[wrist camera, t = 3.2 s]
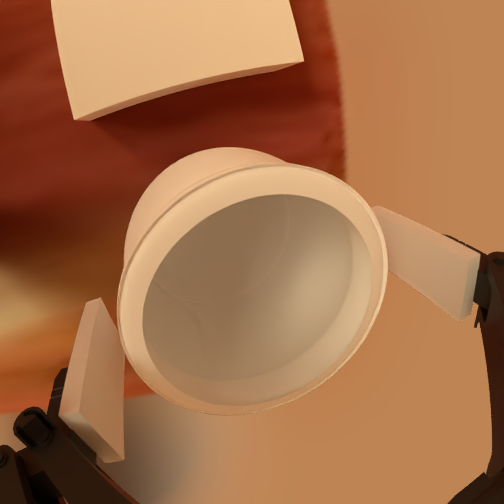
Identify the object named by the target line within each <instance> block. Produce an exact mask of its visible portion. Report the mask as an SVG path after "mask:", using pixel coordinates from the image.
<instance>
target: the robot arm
mask: <svg viewBox="0 0 504 504" xmlns="http://www.w3.org/2000/svg"><path fill="white" fill-rule="evenodd" d="M371 209H372V211H373V212H374V214H375V216H376V218H377V220H378V222H379V224H380V227H381V229H382V232H383V235H384V239H385V243H386V249H387V257H388V270H389V271H390V272H391V273H393V274H394V275H396V276H397V277H399V278H400V279H401V280H403V281H404V282H406V283H407V284H408V285H410V286H411V287H413V288H414V289H415V290H417V291H418V292H419V293H421V294H423V295H424V296H425V297H427V298H428V299H429V300H430V301H432V302H433V303H435V304H436V305H437V306H438V307H440V308H441V309H443V310H444V311H445V312H447V313H448V314H449V315H451V316H452V317H453V318H454V319H456V320H457V321H458V322H460V321H461V320H463V319H464V318H466V317H467V316H468V315H470V314H471V309H472V305H473V301H474V302H475V303H477V304H478V305H479V306H478V311H477V316H476V320H475V325H474V327H475V328H476V327H477V324H478V322H480V328H481V333H482V339H483V345H484V350H485V358H486V364H487V373H488V381H489V390H490V403H491V419H492V455H491V459H490V462H489V465H488V468H487V472H486V474H485V473H482V474H481V475H480V476H479V477H477V478H476V479H475V480H474V481H473V482H472V483H470V484H469V485H468V486H467V487H465V488H464V489H463V490H462V491H460V492H459V493H458V494H456V495H455V496H454V497H453V498H452V499H451V500H450V502H449V503H448V504H504V252H492V253H490V254H489V255H486V254H484V253H482V252H481V251H479V250H477V249H475V248H473V247H471V246H469V245H467V244H466V245H465V243H463V242H461V241H458V240H457V239H455V238H453V237H451V236H448V235H444V234H440V233H438V232H436V231H434V230H432V229H430V228H427V227H426V226H423V225H421V224H419V223H417V222H415V221H413V220H411V219H408V218H406V217H404V216H402V215H399V214H397V213H395V212H393V211H391V210H388V209H386V208H384V207H382V206H379V205H378V206H375V207H371ZM124 363H125V352H124V349H123V346H122V343H121V340H120V336H119V332H118V330H117V328H116V326H115V324H114V322H113V321H112V319H111V317H110V315H109V313H108V311H107V309H106V307H105V305H104V303H103V301H102V299H101V297H100V298H97V299H94V300H91V301H88V302H86V304H85V308H84V311H83V314H82V318H81V321H80V325H79V328H78V332H77V336H76V339H75V343H74V347H73V351H72V355H71V359H70V363H69V367H67V368H63V369H61V370H60V372H59V373H58V375H57V377H56V378H55V381H54V385H53V391H52V393H51V399H50V402H49V406H48V411H47V415H46V414H45V412H44V411H43V410H42V409H40V408H39V407H30V408H27V409H26V410H24V411H23V412H21V414H20V415H19V416H18V417H17V419H16V420H15V423H14V427H13V431H14V435H15V436H16V437H17V438H18V439H19V440H20V441H22V442H23V443H24V444H25V445H26V446H27V447H26V448H24V449H22V450H20V451H18V452H15V451H14V450H13V449H12V448H11V447H9V446H8V445H1V446H0V504H66V502H65V500H64V498H65V499H66V501H67V502H68V503H69V504H140V503H138V502H137V501H136V500H135V499H134V498H133V497H131V496H130V495H129V494H128V493H127V492H126V491H124V490H123V489H122V488H121V487H120V486H119V485H118V484H117V483H116V482H115V481H114V480H112V479H111V478H110V477H109V476H108V475H107V474H106V473H105V472H104V471H103V470H102V469H101V468H100V467H99V466H98V465H97V464H96V455H97V456H98V457H99V458H101V459H102V460H103V461H104V462H105V463H109V462H115V461H121V460H124V433H123V397H124ZM63 497H64V498H63Z"/></svg>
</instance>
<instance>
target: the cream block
mask: <svg viewBox="0 0 504 504" xmlns="http://www.w3.org/2000/svg"><path fill="white" fill-rule="evenodd" d="M51 6H52V14H53V21H54V27H55V34H56V40H57V45H58V51H59V56H60V61H61V66H62V71H63V76H64V80H65V85H66V89H67V93H68V97H69V102H70V106H71V110H72V113H73V117H74V120H86V121H91V120H93V119H96V118H99V117H101V116H104V115H107V114H109V113H112V112H115V111H118V110H121V109H123V108H126V107H129V106H132V105H135V104H138V103H142V102H145V101H148V100H151V99H154V98H158V97H161V96H165V95H168V94H172V93H175V92H179V91H183V90H186V89H190V88H194V87H198V86H202V85H207V84H211V83H215V82H220V81H224V80H229V79H234V78H239V77H244V76H250V75H255V74H261V73H267V72H274V71H277V70H280V69H283V68H286V67H289V66H292V65H294V64H297V63H300V62H303V61H304V58H303V54H302V50H301V45H300V41H299V37H298V33H297V29H296V25H295V21H294V18H293V14H292V10H291V7H290V3H289V0H51Z"/></svg>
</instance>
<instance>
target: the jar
mask: <svg viewBox="0 0 504 504" xmlns="http://www.w3.org/2000/svg"><path fill="white" fill-rule="evenodd" d="M387 274H388V257H387V249H386V243H385V239H384V235H383V232H382V229H381V227H380V224H379V222H378V220H377V218H376V216H375V214H374V212H373V211H372V209H371V208H370V207H369V205H368V204H367V202H366V201H365V200H364V199H363V198H362V197H361V196H360V195H359V194H358V193H357V192H356V191H355V190H354V189H353V188H352V187H350V186H349V185H348V184H346V183H345V182H343V181H342V180H340V179H338V178H337V177H335V176H333V175H331V174H329V173H326V172H324V171H321V170H318V169H315V168H311V167H307V166H302V165H297V164H292V163H287V162H285V161H283V160H281V159H279V158H276V157H274V156H272V155H269V154H266V153H263V152H260V151H256V150H252V149H246V148H237V147H222V148H213V149H207V150H203V151H199V152H196V153H193V154H191V155H188V156H186V157H184V158H182V159H180V160H178V161H176V162H175V163H173V164H172V165H170V166H169V167H168V168H166V169H165V170H164V171H163V172H162V173H160V174H159V175H158V176H157V177H156V178H155V179H154V180H153V182H152V183H151V184H150V185H149V186H148V188H147V189H146V190H145V192H144V193H143V195H142V196H141V198H140V200H139V202H138V204H137V205H136V208H135V210H134V212H133V214H132V217H131V220H130V223H129V226H128V230H127V235H126V240H125V248H124V268H123V271H122V275H121V279H120V283H119V289H118V297H117V323H118V331H119V336H120V340H121V343H122V346H123V349H124V352H125V354H126V356H127V358H128V360H129V362H130V364H131V366H132V367H133V369H134V370H135V372H136V373H137V374H138V376H139V377H140V378H141V379H142V380H143V381H144V382H145V383H146V384H147V385H148V386H149V387H150V388H151V389H152V390H153V391H155V392H156V393H157V394H159V395H160V396H162V397H163V398H165V399H166V400H168V401H170V402H172V403H174V404H176V405H178V406H181V407H183V408H186V409H189V410H192V411H196V412H200V413H206V414H213V415H244V414H251V413H257V412H261V411H266V410H269V409H273V408H276V407H279V406H282V405H284V404H287V403H289V402H291V401H294V400H296V399H298V398H300V397H302V396H303V395H305V394H307V393H309V392H310V391H312V390H314V389H315V388H317V387H318V386H319V385H321V384H323V383H324V382H325V381H327V380H328V379H329V378H330V377H332V375H334V374H335V373H336V372H337V371H338V370H339V369H340V368H341V367H343V366H344V364H345V363H346V362H347V361H348V360H349V359H350V358H351V357H352V355H353V354H354V353H355V352H356V351H357V349H358V348H359V347H360V345H361V344H362V343H363V341H364V340H365V338H366V336H367V335H368V333H369V331H370V330H371V328H372V326H373V324H374V322H375V320H376V317H377V315H378V313H379V310H380V307H381V304H382V301H383V297H384V294H385V288H386V283H387Z"/></svg>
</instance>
